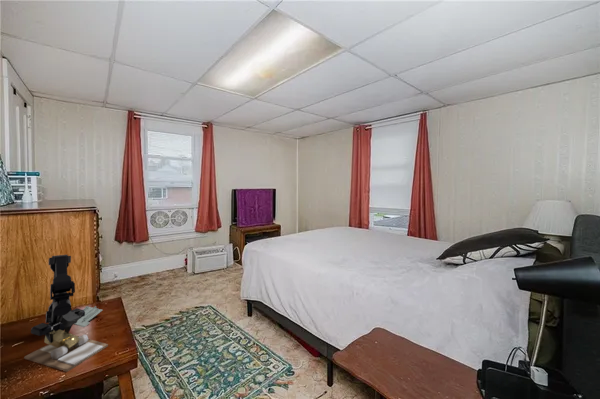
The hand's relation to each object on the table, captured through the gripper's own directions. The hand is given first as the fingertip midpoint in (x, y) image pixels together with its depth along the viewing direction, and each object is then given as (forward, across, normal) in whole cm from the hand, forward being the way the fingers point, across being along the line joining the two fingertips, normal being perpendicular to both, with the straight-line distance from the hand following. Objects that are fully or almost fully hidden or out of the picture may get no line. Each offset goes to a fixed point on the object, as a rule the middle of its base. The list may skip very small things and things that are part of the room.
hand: (58, 338), depth 117 cm
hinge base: (+5, 0, -6) cm, 8 cm away
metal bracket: (+6, +23, +14) cm, 28 cm away
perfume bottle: (+2, 0, -2) cm, 3 cm away
